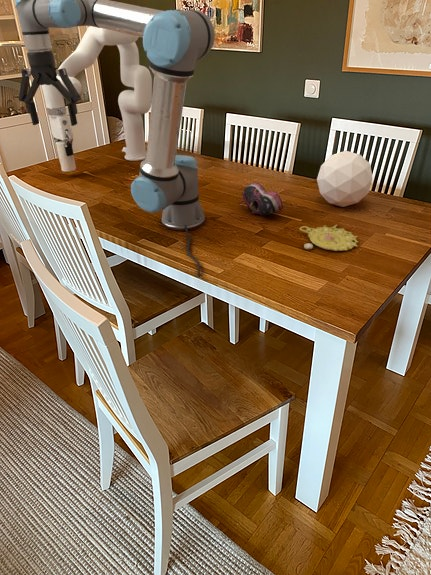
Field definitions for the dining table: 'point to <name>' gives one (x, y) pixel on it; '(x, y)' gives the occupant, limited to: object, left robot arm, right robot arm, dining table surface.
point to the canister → (65, 158)
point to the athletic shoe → (261, 200)
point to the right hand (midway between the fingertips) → (55, 124)
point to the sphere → (344, 178)
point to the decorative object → (330, 238)
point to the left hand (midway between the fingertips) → (65, 153)
